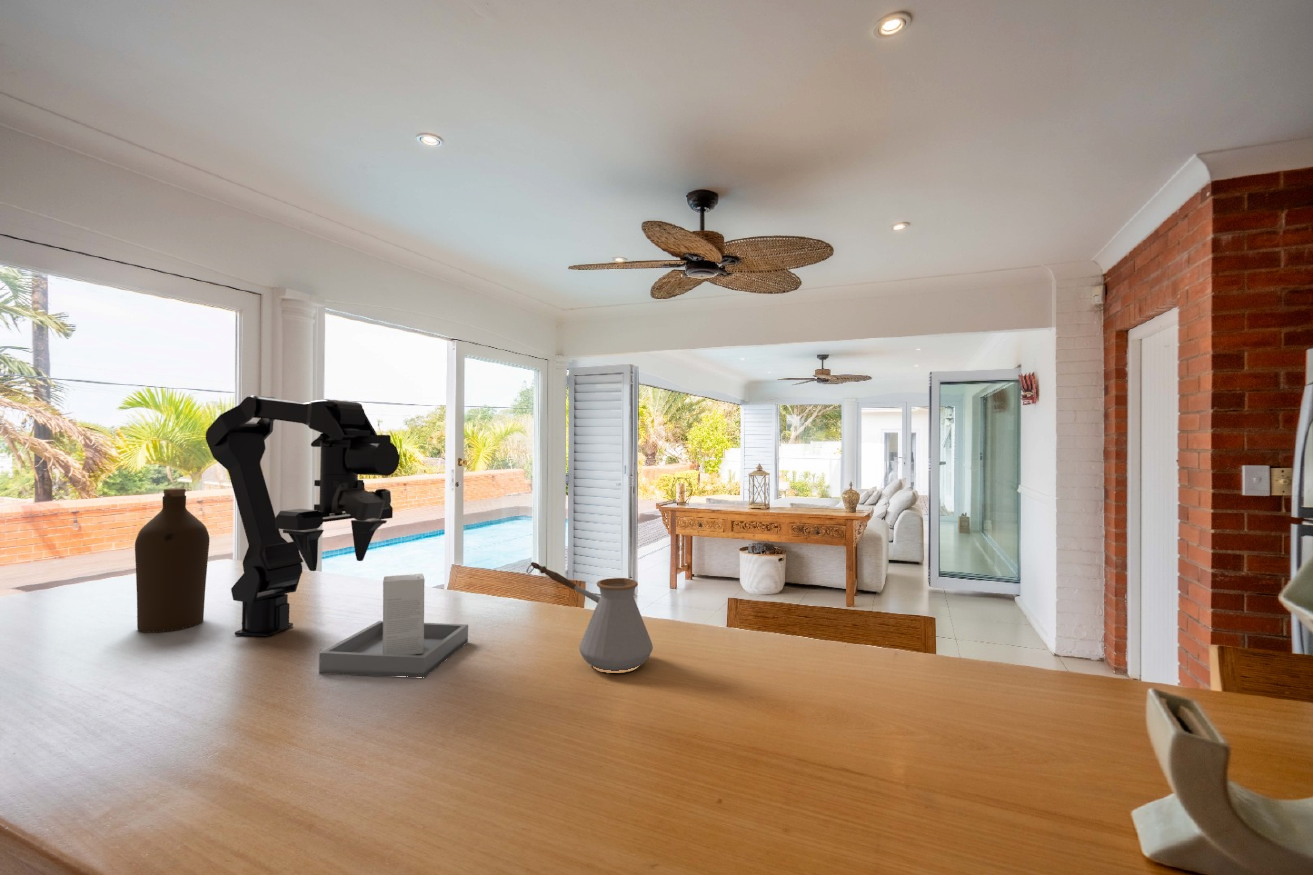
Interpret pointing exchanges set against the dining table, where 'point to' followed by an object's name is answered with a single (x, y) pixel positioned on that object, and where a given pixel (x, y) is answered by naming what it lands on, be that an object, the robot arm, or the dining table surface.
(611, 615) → the coffee pot
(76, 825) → the dining table surface
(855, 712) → the dining table surface
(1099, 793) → the dining table surface
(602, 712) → the dining table surface
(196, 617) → the olive oil
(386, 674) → the tray
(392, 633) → the skincare box
